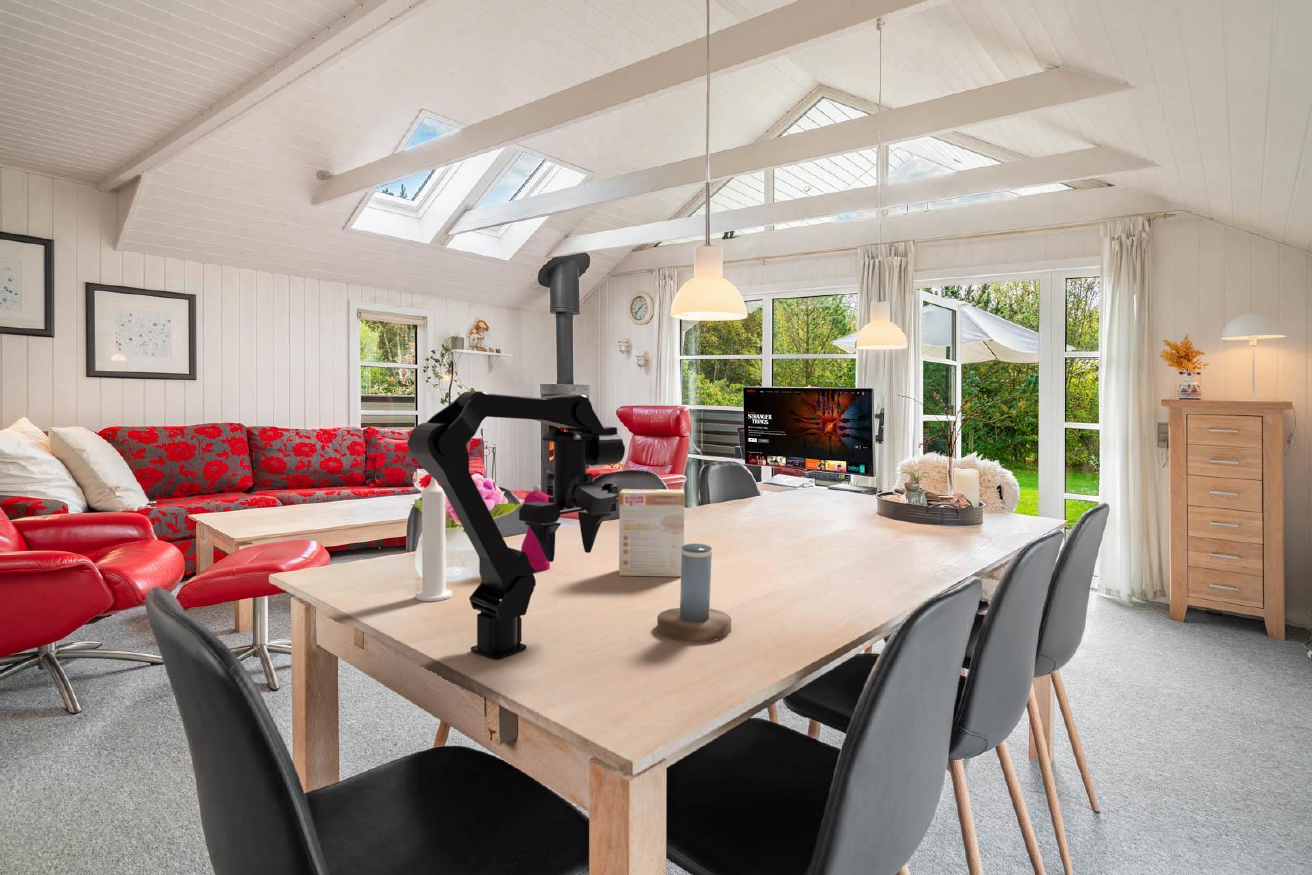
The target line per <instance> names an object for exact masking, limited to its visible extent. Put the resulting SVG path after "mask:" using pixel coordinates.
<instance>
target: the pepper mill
mask: <svg viewBox="0 0 1312 875" xmlns="http://www.w3.org/2000/svg"><path fill="white" fill-rule="evenodd" d="M532 490H533V491H531V492H528V493H527V494H526V495H525V497H524V498H523V499H524V500H523V504H524V503H531V502H546V503H548V497H549V496H548V495H547V494H546V493H545V492H543V491H541V486H540V485H537V484H535V485H533V487H532ZM520 548H521V549H520V551H523V552H525V553H526V554H527V556H528V559H529V562H530V565H531V567H532V568H533V569H534V570H536V572H541V571H540V570H544V571H546V570H545V569H547V570H549V569H550V566H551V562H549V561H547V559H546V557H545V554H544V552H543V550H542V548H541V546H540V544H539V542H538V540H537V538H536V536H535V534H534V533H533V531H532V529H531V528H530V526H529V525H527V530H526V534H525V536H524V539H523V541H522V544H521V547H520Z"/></svg>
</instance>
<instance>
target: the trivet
mask: <svg viewBox="0 0 1312 875" xmlns="http://www.w3.org/2000/svg"><path fill="white" fill-rule="evenodd" d="M656 620H657V624H656V628H657V629H658V630H657V632H658V631H659V632H658V633H659V634H660V633H661V634H663V635H664V637H665V636H666V638H668V637H670V638H669V639H671V638H674V639H677V640H676V641H679V640H682V641H681V642H687V641H691V642H690V643H703V642H702V641H708V642H712V641H711V640H715V639H719V640H721V639H720V638H722V639H724V638H723V637H725V638H727V637H728V636H729V635H730V634H731V633H732V618H731V616H730V615H729V614H727V613H726V612H724V611H721V610H717V609H712V608H709V619H708V620H706V621H704V622H688V621H685V620H683V619H681V618H680V607H674V608H670V609H666V610H664V611H661V612H660V613H659V614H658V615H657V619H656ZM729 633H730V634H729ZM661 634H660V635H661ZM728 634H729V635H728ZM663 635H662V636H663ZM727 635H728V636H727ZM726 636H727V637H726ZM674 639H673V640H674ZM715 641H716V640H715Z"/></svg>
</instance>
